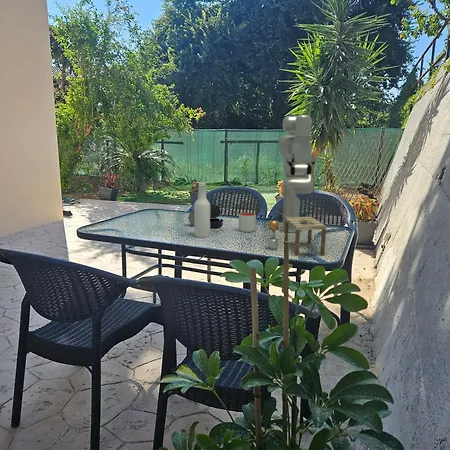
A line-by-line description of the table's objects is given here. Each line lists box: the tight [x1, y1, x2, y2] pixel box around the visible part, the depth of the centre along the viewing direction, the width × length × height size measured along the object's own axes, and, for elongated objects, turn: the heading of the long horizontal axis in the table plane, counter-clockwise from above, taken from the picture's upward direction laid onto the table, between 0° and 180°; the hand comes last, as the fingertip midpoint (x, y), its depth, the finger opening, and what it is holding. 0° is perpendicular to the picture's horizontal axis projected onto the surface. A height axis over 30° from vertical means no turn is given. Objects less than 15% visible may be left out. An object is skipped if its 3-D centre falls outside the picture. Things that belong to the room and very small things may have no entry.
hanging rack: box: [283, 216, 327, 257], centre depth 197 cm, size 22×14×14 cm, turn 5°
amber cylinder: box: [267, 219, 280, 251], centre depth 198 cm, size 5×5×14 cm
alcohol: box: [193, 181, 211, 239], centre depth 220 cm, size 9×9×30 cm
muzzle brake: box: [187, 204, 222, 226], centre depth 256 cm, size 10×28×10 cm, turn 154°
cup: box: [238, 212, 257, 233], centre depth 235 cm, size 10×10×10 cm
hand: (300, 174), depth 204 cm, fingers open, 9 cm apart
